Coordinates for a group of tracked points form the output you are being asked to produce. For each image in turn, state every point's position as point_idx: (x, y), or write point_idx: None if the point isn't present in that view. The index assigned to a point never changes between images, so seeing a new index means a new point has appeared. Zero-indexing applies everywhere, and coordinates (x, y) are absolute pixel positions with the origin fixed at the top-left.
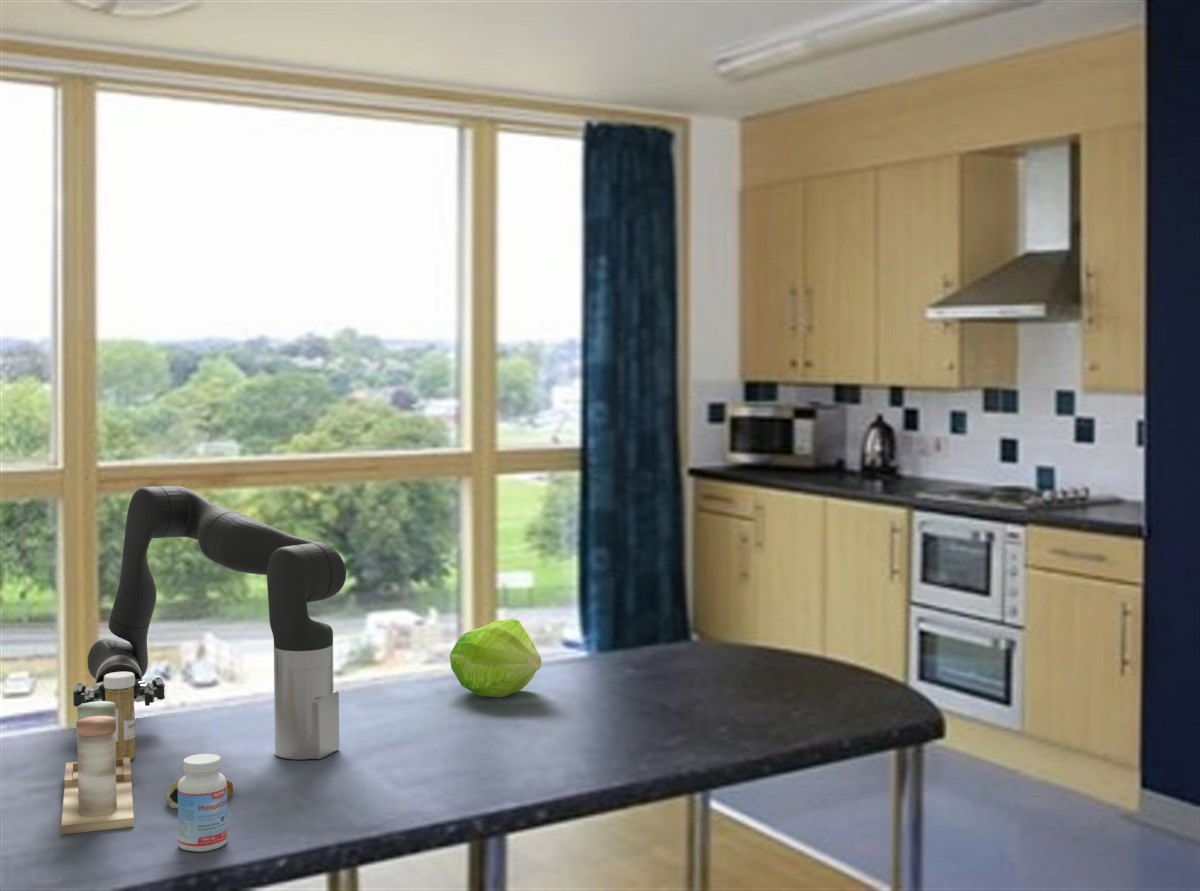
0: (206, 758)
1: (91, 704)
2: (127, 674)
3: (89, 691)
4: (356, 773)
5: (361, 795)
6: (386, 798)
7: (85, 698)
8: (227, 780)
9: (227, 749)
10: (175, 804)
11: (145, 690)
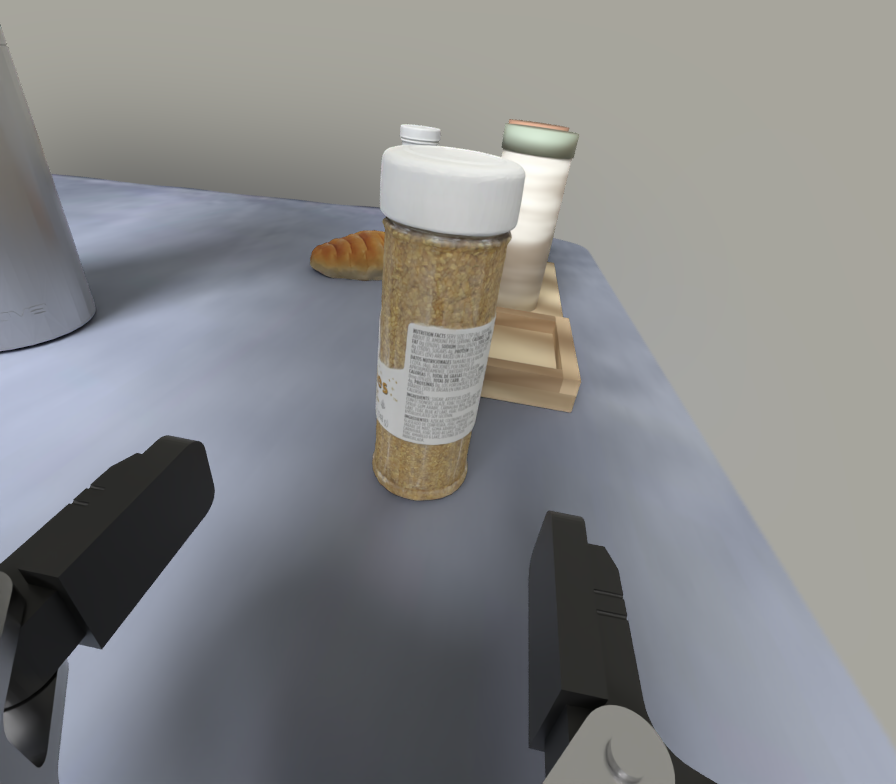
0: (416, 126)
1: (552, 131)
2: (423, 145)
3: (611, 708)
4: (94, 247)
5: (183, 222)
6: (171, 213)
7: (613, 576)
8: (318, 247)
9: (105, 406)
10: None
11: (133, 495)
